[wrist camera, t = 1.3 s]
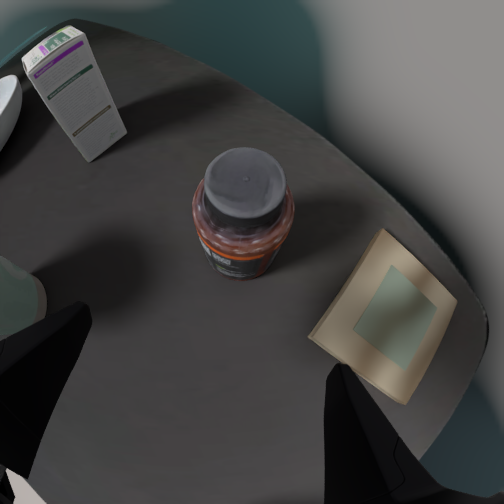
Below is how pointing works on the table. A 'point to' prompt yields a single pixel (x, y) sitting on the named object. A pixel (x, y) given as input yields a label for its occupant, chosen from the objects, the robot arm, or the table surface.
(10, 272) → the coffee cup
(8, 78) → the serving bowl
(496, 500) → the robot arm
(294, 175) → the table surface
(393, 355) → the board
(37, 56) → the syrup box
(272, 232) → the supplement bottle
